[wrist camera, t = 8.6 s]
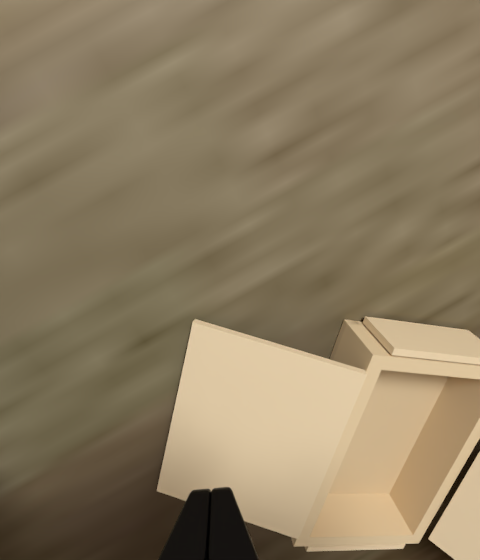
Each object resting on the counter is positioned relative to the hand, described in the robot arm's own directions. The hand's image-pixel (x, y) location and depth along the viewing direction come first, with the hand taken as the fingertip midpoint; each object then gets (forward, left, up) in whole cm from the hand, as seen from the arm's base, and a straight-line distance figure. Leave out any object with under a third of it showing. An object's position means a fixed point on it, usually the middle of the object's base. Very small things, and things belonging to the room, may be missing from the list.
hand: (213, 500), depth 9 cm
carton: (+2, -13, -13) cm, 18 cm away
